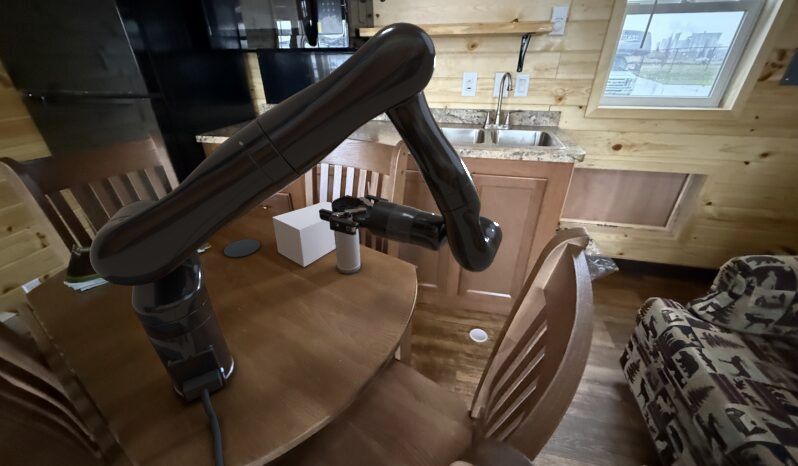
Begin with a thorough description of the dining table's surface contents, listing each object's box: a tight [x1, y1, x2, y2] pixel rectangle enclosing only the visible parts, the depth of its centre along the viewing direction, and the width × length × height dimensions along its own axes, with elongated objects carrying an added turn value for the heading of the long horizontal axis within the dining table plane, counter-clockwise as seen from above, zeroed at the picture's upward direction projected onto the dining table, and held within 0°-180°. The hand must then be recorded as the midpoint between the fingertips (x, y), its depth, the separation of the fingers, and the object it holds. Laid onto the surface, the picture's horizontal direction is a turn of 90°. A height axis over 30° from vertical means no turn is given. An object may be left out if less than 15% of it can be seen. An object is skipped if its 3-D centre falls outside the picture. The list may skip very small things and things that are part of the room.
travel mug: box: [331, 195, 361, 275], centre depth 82 cm, size 6×7×20 cm
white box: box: [272, 201, 336, 268], centre depth 96 cm, size 12×12×26 cm
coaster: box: [223, 238, 261, 259], centre depth 94 cm, size 10×10×1 cm
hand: (333, 206), depth 69 cm, fingers open, 8 cm apart
